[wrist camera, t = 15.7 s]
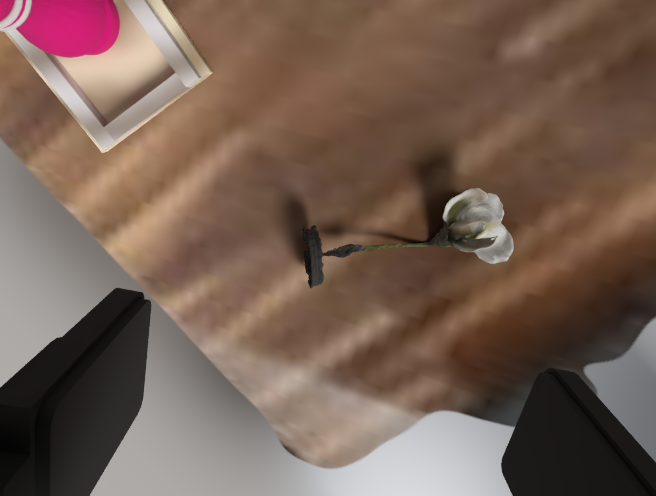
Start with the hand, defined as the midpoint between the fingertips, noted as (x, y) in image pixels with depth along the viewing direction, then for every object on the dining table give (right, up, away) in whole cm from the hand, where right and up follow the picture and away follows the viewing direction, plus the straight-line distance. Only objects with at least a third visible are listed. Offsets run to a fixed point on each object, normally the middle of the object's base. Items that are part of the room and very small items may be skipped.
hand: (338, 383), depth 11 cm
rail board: (-23, +25, +32) cm, 46 cm away
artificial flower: (+8, +6, +39) cm, 40 cm away
